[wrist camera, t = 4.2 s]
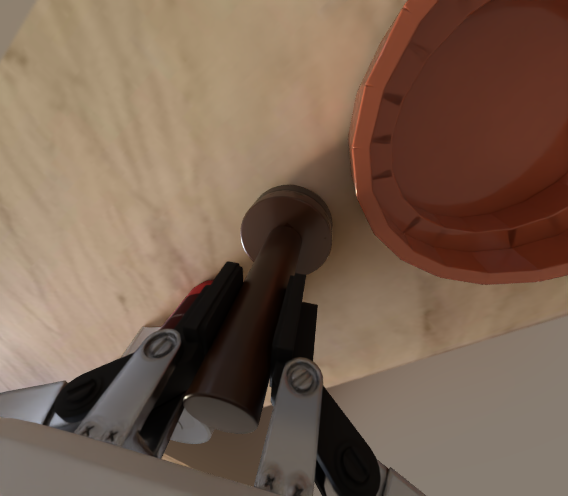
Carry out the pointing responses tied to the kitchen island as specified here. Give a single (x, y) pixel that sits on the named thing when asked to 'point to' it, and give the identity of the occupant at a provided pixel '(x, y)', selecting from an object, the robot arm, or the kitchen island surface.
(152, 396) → the robot arm
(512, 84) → the bowl
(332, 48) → the kitchen island surface
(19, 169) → the kitchen island surface
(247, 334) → the brown coffee tamper
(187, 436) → the canned food
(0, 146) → the kitchen island surface
